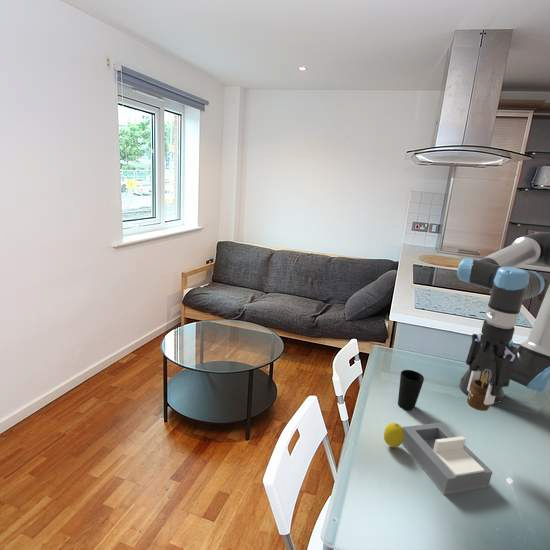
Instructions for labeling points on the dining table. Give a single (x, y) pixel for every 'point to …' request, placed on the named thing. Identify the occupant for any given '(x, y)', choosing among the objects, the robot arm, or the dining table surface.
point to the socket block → (421, 449)
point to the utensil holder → (479, 393)
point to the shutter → (456, 456)
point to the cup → (409, 389)
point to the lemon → (393, 435)
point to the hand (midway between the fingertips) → (479, 396)
